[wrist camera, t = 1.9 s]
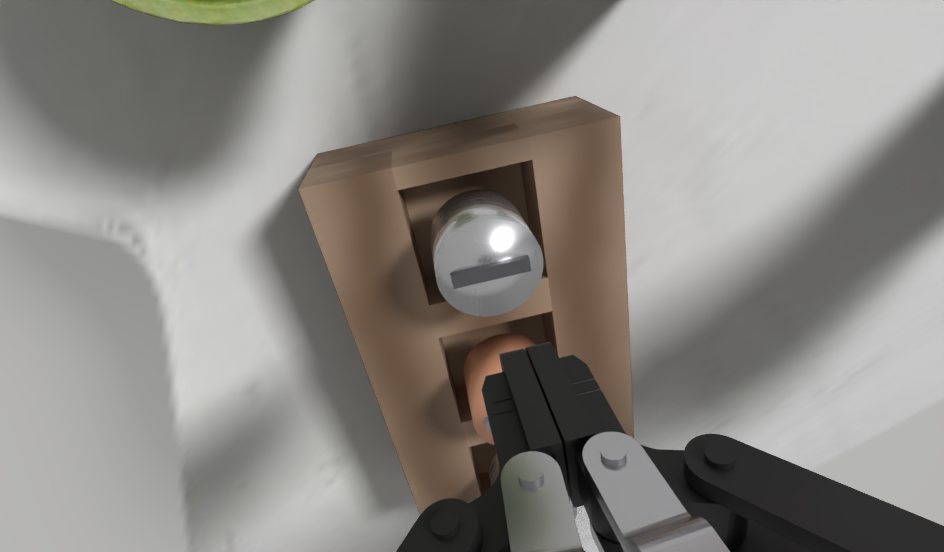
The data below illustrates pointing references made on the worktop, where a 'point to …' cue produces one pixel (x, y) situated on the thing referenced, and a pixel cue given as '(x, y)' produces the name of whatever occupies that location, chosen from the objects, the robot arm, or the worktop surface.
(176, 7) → the plant pot
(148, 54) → the worktop surface
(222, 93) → the worktop surface
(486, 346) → the terracotta knob
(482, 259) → the metal knob
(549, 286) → the console
